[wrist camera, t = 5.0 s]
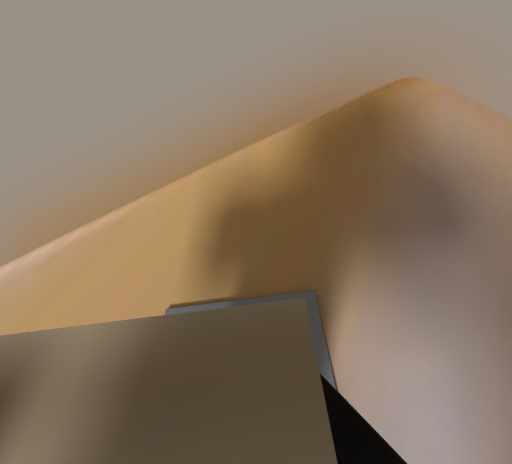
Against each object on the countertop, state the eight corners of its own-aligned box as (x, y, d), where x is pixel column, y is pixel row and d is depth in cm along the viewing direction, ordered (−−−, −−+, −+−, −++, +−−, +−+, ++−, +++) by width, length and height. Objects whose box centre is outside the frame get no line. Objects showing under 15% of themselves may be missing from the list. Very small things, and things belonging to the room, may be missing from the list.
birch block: (311, 508, 10) (447, 1014, 2) (179, 523, 11) (-262, 1072, 2) (289, 363, 13) (304, 298, 4) (183, 376, 13) (-1, 335, 5)
